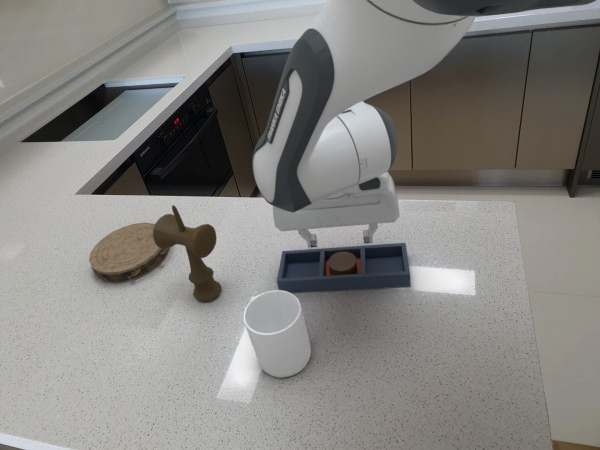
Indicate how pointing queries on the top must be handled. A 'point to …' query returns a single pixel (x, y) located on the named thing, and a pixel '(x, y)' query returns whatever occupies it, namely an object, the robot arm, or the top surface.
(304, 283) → the grid
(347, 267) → the cylinder
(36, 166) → the top surface
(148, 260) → the wood slice coaster
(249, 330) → the mug
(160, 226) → the kendama
